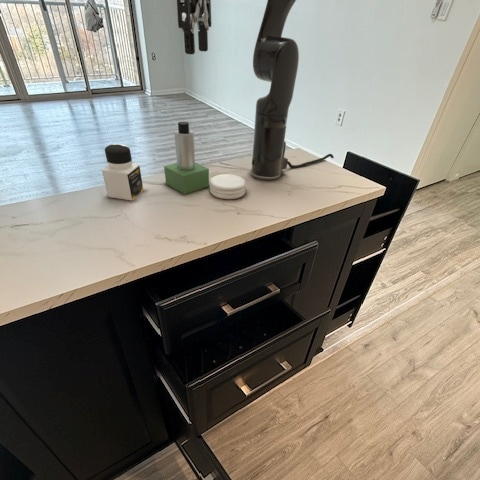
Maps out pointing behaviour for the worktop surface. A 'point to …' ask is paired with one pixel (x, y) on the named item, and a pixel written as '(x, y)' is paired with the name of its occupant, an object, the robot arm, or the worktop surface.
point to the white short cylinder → (227, 186)
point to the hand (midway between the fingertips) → (197, 52)
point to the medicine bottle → (121, 173)
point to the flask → (184, 147)
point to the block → (187, 178)
